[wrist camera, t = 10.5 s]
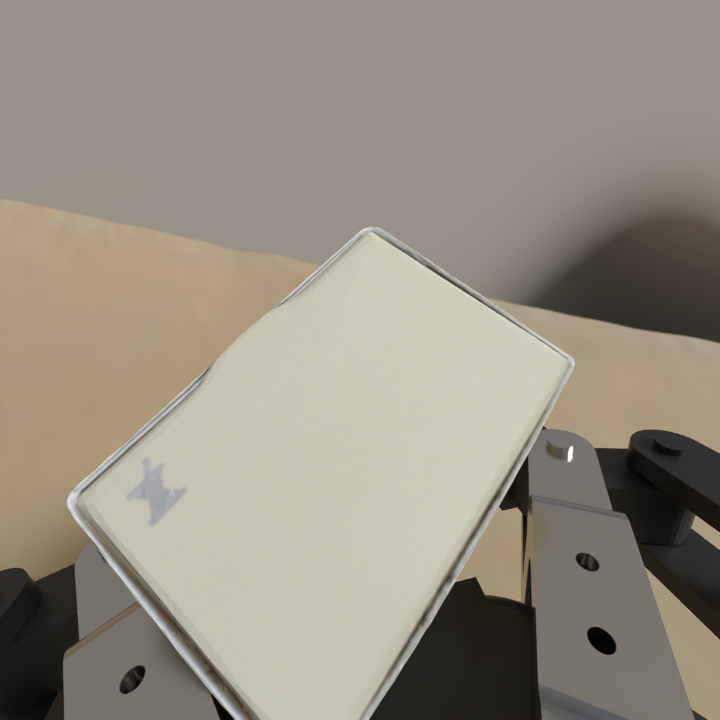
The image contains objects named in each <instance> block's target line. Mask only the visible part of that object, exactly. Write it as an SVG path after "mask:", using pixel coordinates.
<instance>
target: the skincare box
mask: <svg viewBox="0 0 720 720" xmlns="http://www.w3.org/2000/svg"><path fill="white" fill-rule="evenodd" d="M574 367H575V361H574V360H573V358H572V357H571V356H570V355H568V354H567V353H565V352H564V351H563V350H561V349H560V348H558V347H557V346H555V345H554V344H552V343H551V342H549V341H547V340H546V339H544V338H543V337H541V336H540V335H538V334H537V333H535V332H534V331H532V330H531V329H529V328H528V327H527V326H525V325H524V324H522V323H521V322H520V321H518V320H517V319H515V318H514V317H513V316H511V315H510V314H508V313H506V312H505V311H503V310H502V309H500V308H499V307H498V306H496V305H495V304H493V303H492V302H490V301H489V300H487V299H486V298H485V297H483V296H482V295H481V294H479V293H478V292H476V291H474V290H473V289H471V288H470V287H468V286H467V285H465V284H464V283H462V282H460V281H459V280H457V279H456V278H454V277H453V276H451V275H450V274H448V273H447V272H445V271H444V270H443V269H441V268H440V267H438V266H437V265H435V264H433V263H432V262H431V261H429V260H428V259H426V258H425V257H423V256H422V255H420V254H419V253H417V252H416V251H414V250H412V249H411V248H409V247H408V246H406V245H405V244H403V243H402V242H400V241H399V240H397V239H396V238H394V237H393V236H391V235H390V234H388V233H387V232H385V231H384V230H382V229H381V228H378V227H369V228H364V229H362V230H361V231H360V232H359V233H357V234H356V235H355V236H354V237H353V238H352V239H351V240H350V241H349V242H348V243H347V244H346V245H344V246H343V247H342V248H341V249H340V250H339V251H338V252H336V253H335V254H334V255H333V256H332V257H331V258H330V259H328V260H327V261H326V262H325V263H324V264H323V265H322V266H321V267H320V268H318V269H317V270H316V271H315V272H314V273H313V274H312V275H310V276H309V277H308V278H307V279H306V280H305V281H304V282H303V283H301V284H300V285H299V286H298V287H297V288H296V289H295V290H294V291H293V292H292V293H290V294H289V295H288V296H287V297H286V298H285V299H283V300H282V301H281V302H280V303H279V304H277V305H276V306H275V307H274V308H273V309H272V310H270V311H269V312H268V313H267V314H266V315H264V316H263V317H262V318H260V319H259V320H258V321H256V322H255V323H254V324H253V325H252V326H250V327H249V328H248V329H247V330H246V331H245V332H244V333H242V334H241V335H240V336H239V337H238V338H237V339H236V340H235V341H234V342H233V343H232V344H231V345H230V346H229V347H228V348H227V349H226V350H225V351H224V352H223V353H222V354H221V355H220V356H219V357H218V358H217V359H216V360H215V361H214V362H213V363H212V364H211V365H210V366H209V367H208V368H207V369H206V370H205V371H204V372H203V373H202V374H201V375H199V376H198V377H197V378H196V379H195V380H194V381H193V382H192V383H191V384H189V385H188V386H187V387H186V388H185V389H184V390H183V391H182V392H180V393H179V394H178V395H177V396H176V397H175V398H174V399H173V400H171V401H170V402H169V403H168V404H167V405H166V406H165V407H164V408H163V409H162V410H161V411H160V412H159V413H158V414H156V415H155V416H154V417H153V418H152V419H151V420H150V421H149V422H148V423H147V424H146V425H144V426H143V427H142V428H141V429H140V430H139V431H138V432H136V433H135V434H134V435H133V436H132V437H131V438H130V439H129V440H127V441H126V442H125V443H124V444H123V445H122V446H121V447H120V448H119V449H117V450H116V451H115V452H114V453H113V454H112V455H111V456H110V457H109V458H107V459H106V460H105V461H104V462H103V463H102V464H101V465H100V466H99V467H98V468H97V469H96V470H95V471H94V472H92V473H91V474H90V475H89V476H87V477H86V478H85V479H84V480H82V481H81V482H80V483H79V484H77V485H76V487H75V488H74V489H73V490H72V491H71V492H70V494H69V495H68V496H67V498H66V504H65V506H66V508H67V510H68V511H69V513H70V514H71V515H72V516H73V518H74V519H75V520H76V522H77V523H78V524H79V526H80V527H81V528H82V529H83V530H84V531H85V532H86V533H87V535H88V536H89V537H90V538H91V540H92V541H93V542H94V544H95V545H96V547H97V548H98V550H99V551H100V553H101V554H102V556H103V557H104V558H105V560H106V561H107V562H108V564H109V565H110V566H111V567H112V568H113V569H114V570H115V571H116V573H117V574H118V575H119V576H120V578H121V579H122V580H123V582H124V583H125V585H126V586H127V587H128V589H129V590H130V592H131V593H132V594H133V596H134V597H135V599H136V600H137V601H138V602H139V603H140V605H141V606H142V607H143V608H144V609H145V611H146V612H147V613H148V614H149V615H150V617H151V618H152V619H153V620H154V621H155V623H156V624H157V625H158V627H159V628H160V629H161V631H162V632H163V633H164V635H165V636H166V637H167V638H168V639H169V640H170V642H171V643H172V644H173V646H174V647H175V649H176V650H177V651H178V653H179V654H180V655H181V656H182V658H183V659H184V660H185V661H186V663H187V664H188V665H189V666H190V667H191V669H192V670H193V671H194V672H195V673H196V675H197V676H198V677H199V678H200V679H201V681H202V682H203V683H204V684H205V686H206V687H207V688H208V689H209V690H210V692H211V693H212V694H213V695H214V696H215V698H216V699H217V700H218V702H219V703H220V704H221V705H222V706H223V707H224V708H225V710H226V711H227V712H228V713H229V714H230V715H231V716H232V717H233V718H234V720H369V719H370V717H371V716H372V714H373V713H374V711H375V709H376V708H377V706H378V705H379V703H380V702H381V700H382V699H383V697H384V696H385V694H386V693H387V691H388V690H389V688H390V687H391V685H392V684H393V682H394V681H395V680H396V678H397V676H398V674H399V673H400V671H401V669H402V668H403V666H404V664H405V663H406V662H407V660H408V659H409V657H410V656H411V654H412V653H413V651H414V649H415V648H416V646H417V644H418V643H419V641H420V639H421V638H422V636H423V634H424V633H425V631H426V629H427V628H428V627H429V625H430V624H431V622H432V621H433V619H434V617H435V615H436V614H437V612H438V610H439V608H440V606H441V605H442V603H443V601H444V600H445V598H446V596H447V595H448V593H449V591H450V590H451V588H452V586H453V585H454V583H455V581H456V580H457V578H458V576H459V574H460V572H461V571H462V569H463V567H464V565H465V563H466V562H467V560H468V559H469V557H470V556H471V554H472V552H473V551H474V549H475V547H476V545H477V544H478V542H479V540H480V538H481V536H482V534H483V533H484V531H485V529H486V528H487V526H488V524H489V523H490V521H491V519H492V517H493V516H494V514H495V512H496V511H497V509H498V507H499V505H500V504H501V502H502V500H503V498H504V497H505V495H506V493H507V491H508V489H509V488H510V486H511V484H512V482H513V481H514V479H515V477H516V475H517V473H518V471H519V469H520V468H521V466H522V464H523V462H524V461H525V459H526V457H527V455H528V454H529V452H530V450H531V448H532V446H533V445H534V443H535V441H536V439H537V437H538V435H539V433H540V431H541V429H542V427H543V425H544V423H545V421H546V420H547V418H548V416H549V415H550V413H551V411H552V409H553V407H554V405H555V403H556V401H557V399H558V397H559V395H560V393H561V391H562V389H563V388H564V386H565V384H566V382H567V380H568V378H569V376H570V374H571V373H572V371H573V369H574Z"/></svg>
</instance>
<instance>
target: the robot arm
mask: <svg viewBox="0 0 720 720" xmlns="http://www.w3.org/2000/svg"><path fill="white" fill-rule="evenodd" d="M499 507H500V508H501V510H502V511H503V510H507V509H511V508H516V507H518V508H519V510H520V511H521V512H522V522H521V602H518V601H515V600H511V599H508V598H504V597H498V596H491V595H484V593H483V591H482V589H481V587H480V585H479V583H478V581H477V579H476V577H474V578H470V579H466V580H462V581H458V582H455V583H454V585H453V586H452V588H451V590H450V591H449V593H448V595H447V596H446V598H445V600H444V601H443V603H442V605H441V606H440V608H439V610H438V612H437V614H436V615H435V617H434V619H433V621H432V622H431V624H430V625H429V627H428V628H427V629H426V631H425V633H424V634H423V636H422V638H421V639H420V641H419V643H418V644H417V646H416V648H415V649H414V651H413V653H412V654H411V656H410V657H409V659H408V660H407V662H406V663H405V664H404V666H403V668H402V669H401V671H400V673H399V674H398V676H397V678H396V680H395V681H394V682H393V684H392V685H391V687H390V688H389V690H388V691H387V693H386V694H385V696H384V697H383V699H382V700H381V702H380V703H379V705H378V706H377V708H376V709H375V711H374V713H373V714H372V716H371V717H370V719H369V720H707V719H706V718H704V717H702V716H701V715H699V714H698V713H696V712H695V711H693V710H692V709H691V706H690V703H689V700H688V697H687V694H686V691H685V688H684V685H683V682H682V679H681V676H680V673H679V670H678V667H677V664H676V661H675V658H674V655H673V652H672V649H671V646H670V643H669V640H668V637H667V634H666V631H665V628H664V624H663V621H662V618H661V615H660V612H659V609H658V606H657V603H656V600H655V597H654V594H653V591H652V588H651V585H650V582H649V579H648V576H647V573H646V570H645V567H646V568H647V569H648V570H649V571H650V572H651V573H652V574H653V575H654V576H655V577H656V578H657V579H658V580H659V581H660V582H661V583H662V584H663V585H664V586H665V587H666V588H667V589H669V590H670V591H671V592H672V593H673V594H674V595H675V596H676V597H677V598H678V599H679V600H680V601H681V602H682V603H683V604H684V605H685V606H686V607H687V608H688V609H689V610H690V611H691V612H692V613H693V614H694V615H695V616H696V617H697V618H698V619H699V620H700V621H701V622H702V623H703V624H704V625H705V626H706V627H707V628H708V629H710V630H711V631H712V632H713V633H714V634H715V635H716V636H717V637H718V638H719V639H720V550H719V549H717V548H716V547H715V546H714V545H712V544H711V543H710V542H708V541H707V540H706V539H704V538H703V537H702V536H700V535H699V534H698V533H697V532H695V531H694V530H693V529H691V526H692V524H693V521H694V518H695V515H697V516H698V517H699V518H701V519H702V520H703V521H705V522H706V523H708V524H709V525H710V526H712V527H713V528H715V529H716V530H717V531H719V532H720V454H719V453H718V452H716V451H714V450H712V449H710V448H708V447H706V446H704V445H703V444H701V443H699V442H697V441H695V440H693V439H691V438H688V437H686V436H683V435H680V434H677V433H673V432H669V431H663V430H641V431H638V432H636V433H634V434H633V435H632V436H631V438H630V442H629V447H628V449H615V448H594V447H593V446H592V444H591V443H589V442H588V441H587V440H586V439H584V438H582V437H581V436H579V435H576V434H574V433H571V432H568V431H563V430H556V429H546V428H545V427H544V426H543V427H542V429H541V431H540V433H539V435H538V437H537V439H536V441H535V443H534V445H533V446H532V448H531V450H530V452H529V454H528V455H527V457H526V459H525V461H524V462H523V464H522V466H521V468H520V469H519V471H518V473H517V475H516V477H515V479H514V481H513V482H512V484H511V486H510V488H509V489H508V491H507V493H506V495H505V497H504V498H503V500H502V502H501V504H500V505H499ZM644 566H645V567H644ZM0 720H234V718H233V717H232V716H231V715H230V714H229V713H228V712H227V711H226V710H225V708H224V707H223V706H222V705H221V704H220V703H219V702H218V700H217V699H216V698H215V696H214V695H213V694H212V693H211V692H210V690H209V689H208V688H207V687H206V686H205V684H204V683H203V682H202V681H201V679H200V678H199V677H198V676H197V675H196V673H195V672H194V671H193V670H192V669H191V667H190V666H189V665H188V664H187V663H186V661H185V660H184V659H183V658H182V656H181V655H180V654H179V653H178V651H177V650H176V649H175V647H174V646H173V644H172V643H171V642H170V640H169V639H168V638H167V637H166V636H165V635H164V633H163V632H162V631H161V629H160V628H159V627H158V625H157V624H156V623H155V621H154V620H153V619H152V618H151V617H150V615H149V614H148V613H147V612H146V611H145V609H144V608H143V607H142V606H141V605H140V603H139V602H138V601H137V600H136V599H135V597H134V596H133V594H132V593H131V592H130V590H129V589H128V587H127V586H126V585H125V583H124V582H123V580H122V579H121V578H120V576H119V575H118V574H117V573H116V571H115V570H114V569H113V568H112V567H111V566H110V565H109V564H108V562H107V561H106V560H105V558H104V557H103V556H102V554H101V553H100V551H99V550H98V548H97V547H96V545H95V544H94V542H93V541H92V540H91V541H90V542H89V543H88V544H87V545H86V546H85V547H84V548H83V550H82V551H81V552H80V554H79V556H78V557H77V559H76V562H75V564H73V565H71V566H69V567H66V568H64V569H62V570H60V571H57V572H55V573H53V574H51V575H48V576H46V577H44V578H42V579H39V580H37V581H35V582H34V581H33V580H32V579H31V577H30V576H29V575H28V574H27V572H26V571H25V570H24V569H21V568H11V569H6V570H3V571H0Z"/></svg>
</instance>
